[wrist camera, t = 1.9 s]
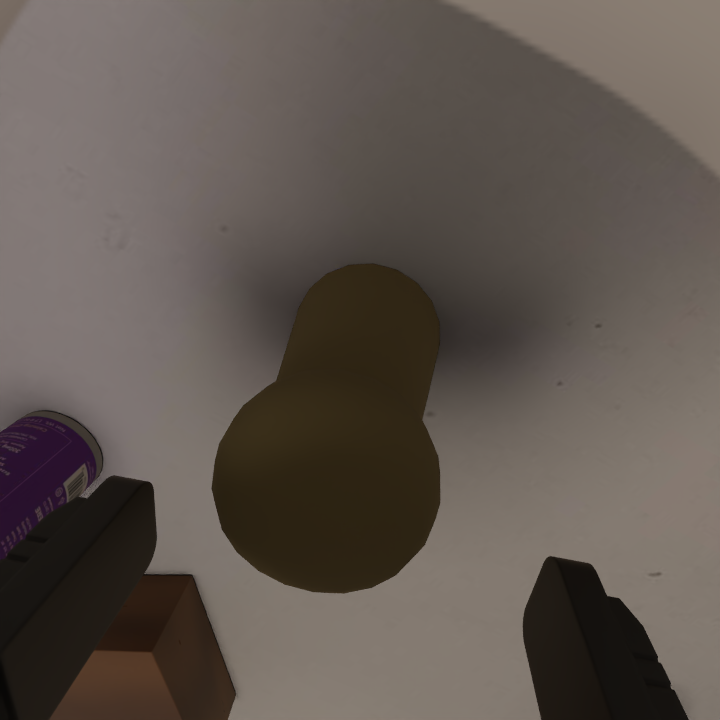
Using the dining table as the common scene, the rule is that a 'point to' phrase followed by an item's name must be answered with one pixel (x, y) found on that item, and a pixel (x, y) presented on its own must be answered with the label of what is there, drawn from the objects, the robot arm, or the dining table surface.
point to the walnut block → (154, 661)
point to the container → (42, 471)
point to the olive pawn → (338, 440)
